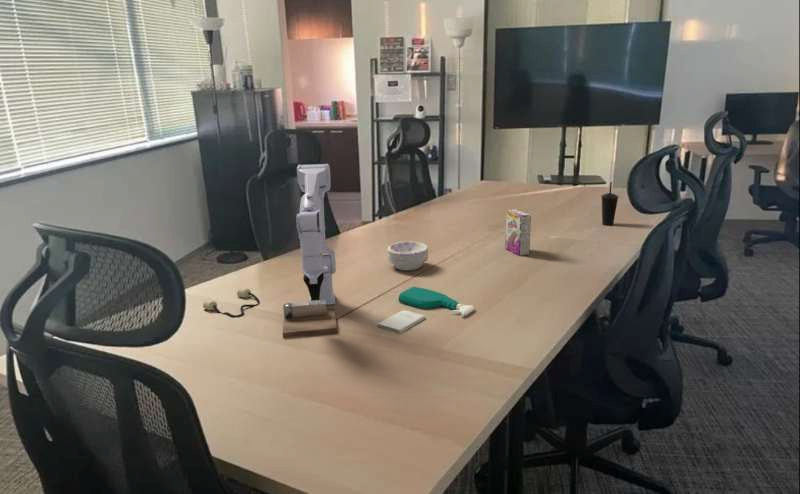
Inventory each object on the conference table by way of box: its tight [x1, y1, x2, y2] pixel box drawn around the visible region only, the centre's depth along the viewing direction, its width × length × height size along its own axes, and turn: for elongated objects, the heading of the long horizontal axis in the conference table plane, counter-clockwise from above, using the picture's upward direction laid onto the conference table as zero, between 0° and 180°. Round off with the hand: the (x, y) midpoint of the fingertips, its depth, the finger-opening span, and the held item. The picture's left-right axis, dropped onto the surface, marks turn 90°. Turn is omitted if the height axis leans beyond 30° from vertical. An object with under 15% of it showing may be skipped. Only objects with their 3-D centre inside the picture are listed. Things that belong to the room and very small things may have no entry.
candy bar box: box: [504, 208, 532, 257], centre depth 225 cm, size 11×5×16 cm, turn 22°
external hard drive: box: [376, 309, 426, 334], centre depth 164 cm, size 2×8×12 cm
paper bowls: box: [387, 241, 429, 271], centre depth 212 cm, size 15×15×8 cm
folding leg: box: [282, 300, 327, 318], centre depth 167 cm, size 12×3×4 cm, turn 99°
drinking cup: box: [600, 181, 619, 227], centre depth 262 cm, size 8×8×20 cm
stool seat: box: [282, 298, 338, 339], centre depth 164 cm, size 15×15×5 cm
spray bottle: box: [398, 286, 474, 318], centre depth 176 cm, size 3×11×25 cm
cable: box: [202, 287, 261, 318], centre depth 180 cm, size 16×16×4 cm
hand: (315, 299), depth 160 cm, fingers closed
